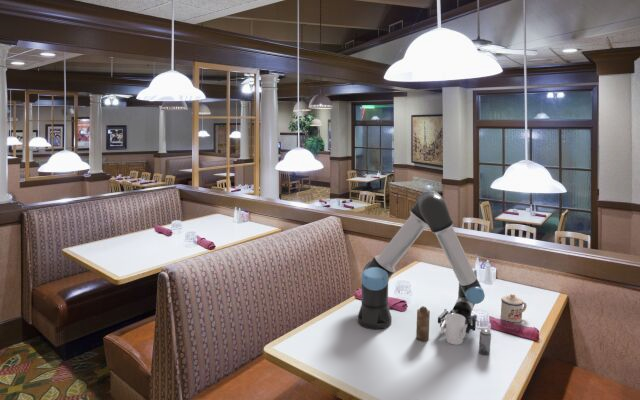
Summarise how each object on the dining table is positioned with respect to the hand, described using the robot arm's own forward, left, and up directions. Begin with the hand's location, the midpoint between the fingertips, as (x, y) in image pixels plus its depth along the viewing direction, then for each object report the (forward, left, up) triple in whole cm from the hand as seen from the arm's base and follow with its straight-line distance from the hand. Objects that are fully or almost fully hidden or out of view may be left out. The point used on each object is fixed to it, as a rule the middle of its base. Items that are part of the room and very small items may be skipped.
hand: (452, 332), depth 165 cm
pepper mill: (-12, +1, -6) cm, 13 cm away
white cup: (0, +5, -6) cm, 8 cm away
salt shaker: (+12, +1, -6) cm, 13 cm away
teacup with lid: (+20, +37, -6) cm, 42 cm away
